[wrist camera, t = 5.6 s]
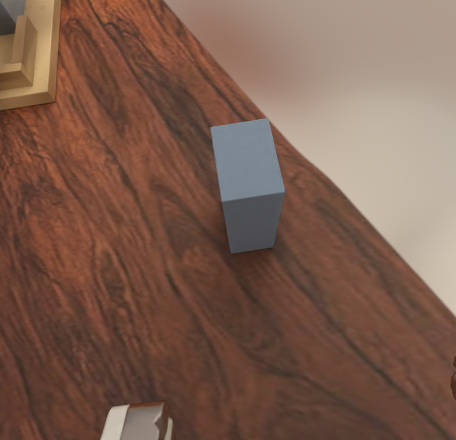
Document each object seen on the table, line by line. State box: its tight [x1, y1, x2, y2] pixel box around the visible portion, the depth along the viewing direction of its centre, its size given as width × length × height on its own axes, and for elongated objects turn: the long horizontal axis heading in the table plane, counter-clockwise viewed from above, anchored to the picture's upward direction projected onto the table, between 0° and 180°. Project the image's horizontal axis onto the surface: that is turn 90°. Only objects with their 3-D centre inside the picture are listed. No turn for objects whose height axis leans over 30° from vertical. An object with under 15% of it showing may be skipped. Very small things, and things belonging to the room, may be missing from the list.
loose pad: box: [210, 118, 285, 254], centre depth 24 cm, size 4×5×10 cm
